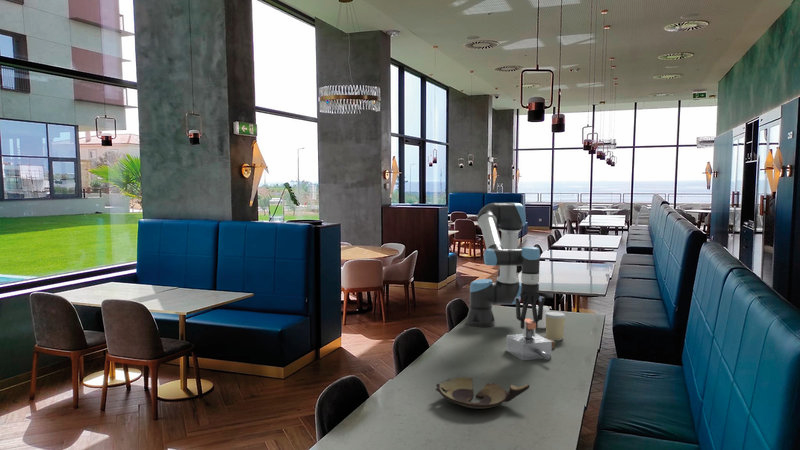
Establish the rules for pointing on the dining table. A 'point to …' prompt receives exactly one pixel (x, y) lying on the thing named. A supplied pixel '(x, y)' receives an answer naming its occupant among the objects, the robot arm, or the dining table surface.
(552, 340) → the wooden square frame
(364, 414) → the dining table surface
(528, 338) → the block
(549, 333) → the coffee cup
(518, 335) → the block
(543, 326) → the white cup
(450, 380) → the brown curved dish
